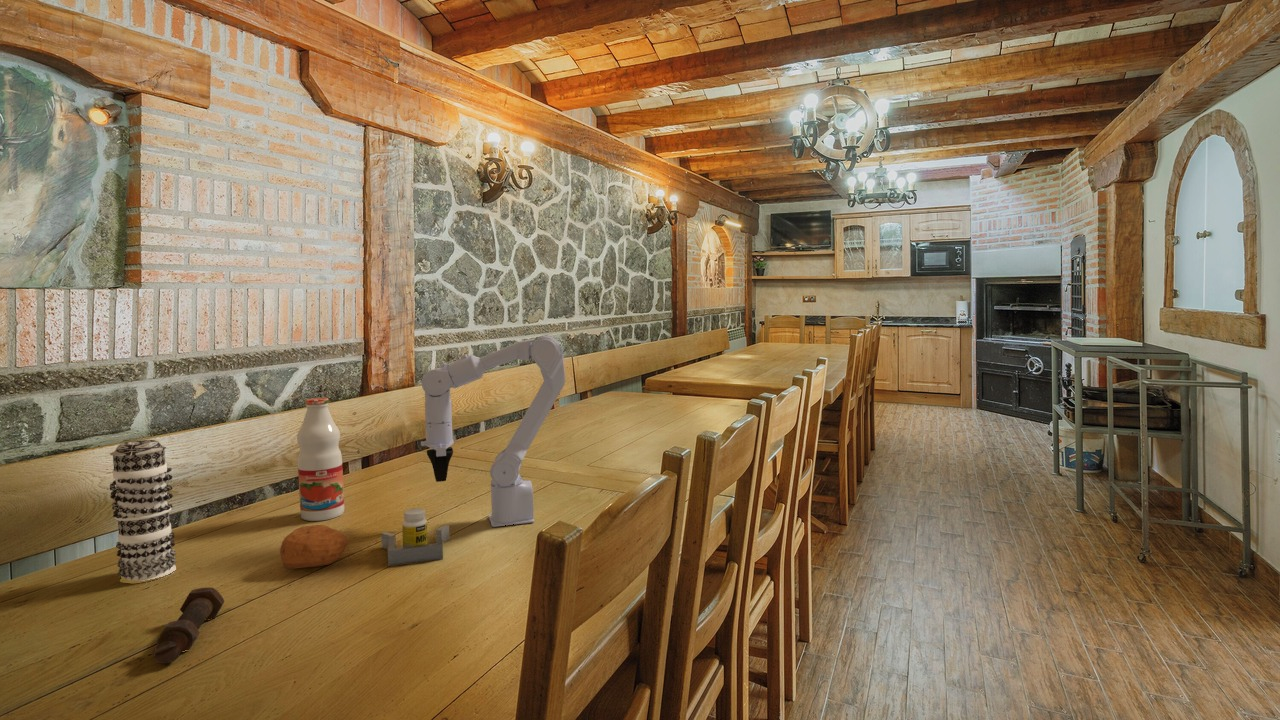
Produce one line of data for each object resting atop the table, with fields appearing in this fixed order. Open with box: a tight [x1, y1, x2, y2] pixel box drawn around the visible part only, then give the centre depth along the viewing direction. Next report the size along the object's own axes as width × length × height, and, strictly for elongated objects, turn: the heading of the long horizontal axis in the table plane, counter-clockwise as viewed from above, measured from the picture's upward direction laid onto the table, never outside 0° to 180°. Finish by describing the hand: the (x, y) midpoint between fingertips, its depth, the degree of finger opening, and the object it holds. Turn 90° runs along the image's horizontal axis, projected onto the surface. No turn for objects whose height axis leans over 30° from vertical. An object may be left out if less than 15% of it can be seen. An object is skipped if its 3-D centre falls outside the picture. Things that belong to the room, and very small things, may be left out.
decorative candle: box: [109, 439, 177, 581], centre depth 117 cm, size 9×9×25 cm
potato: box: [279, 524, 349, 569], centre depth 122 cm, size 9×11×8 cm
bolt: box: [152, 586, 225, 664], centre depth 95 cm, size 6×5×15 cm
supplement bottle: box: [401, 507, 428, 547], centre depth 128 cm, size 5×5×8 cm
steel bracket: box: [380, 524, 450, 567], centre depth 128 cm, size 13×11×3 cm
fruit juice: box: [296, 397, 345, 522], centre depth 150 cm, size 9×9×28 cm
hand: (440, 480), depth 144 cm, fingers closed
